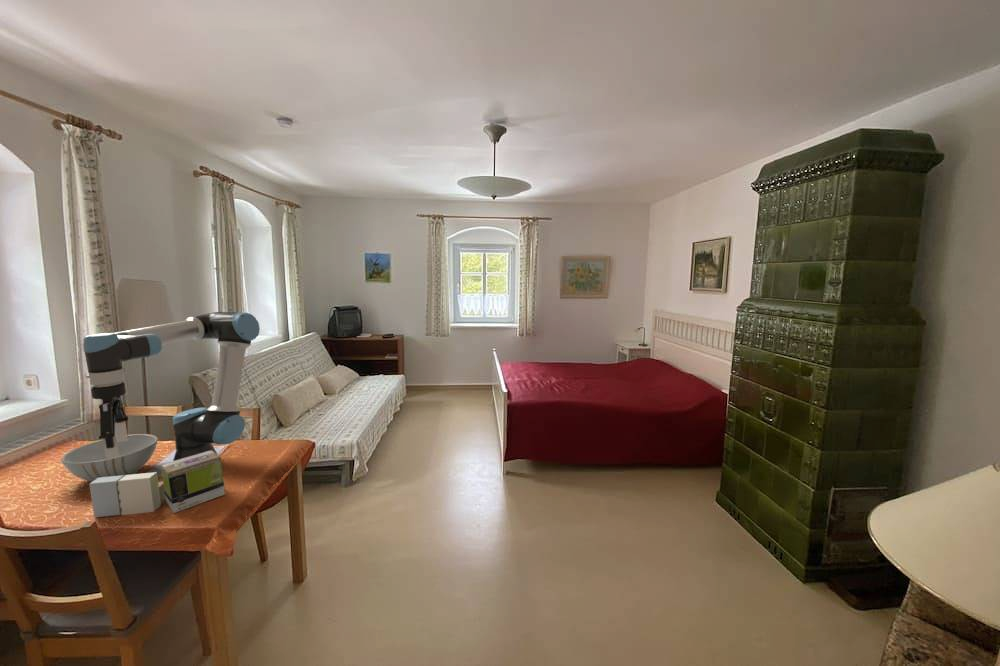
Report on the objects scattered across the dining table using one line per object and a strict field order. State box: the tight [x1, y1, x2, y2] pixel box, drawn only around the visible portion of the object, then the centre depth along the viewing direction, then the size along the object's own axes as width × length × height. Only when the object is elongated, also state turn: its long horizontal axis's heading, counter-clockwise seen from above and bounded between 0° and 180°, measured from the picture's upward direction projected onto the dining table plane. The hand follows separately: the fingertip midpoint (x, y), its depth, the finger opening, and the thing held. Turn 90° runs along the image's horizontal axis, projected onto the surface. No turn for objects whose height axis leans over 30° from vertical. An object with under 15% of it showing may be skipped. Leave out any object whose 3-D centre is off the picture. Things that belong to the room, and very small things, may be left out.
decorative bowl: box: [60, 433, 159, 482], centre depth 155 cm, size 27×27×12 cm
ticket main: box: [117, 471, 166, 516], centre depth 135 cm, size 9×9×12 cm
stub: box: [89, 475, 124, 519], centre depth 131 cm, size 4×7×12 cm, turn 104°
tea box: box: [160, 450, 226, 514], centre depth 139 cm, size 15×10×15 cm, turn 141°
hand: (117, 449), depth 126 cm, fingers open, 13 cm apart
